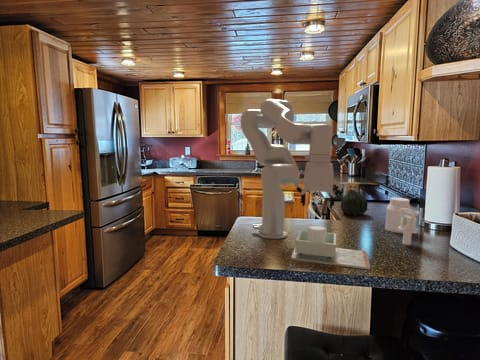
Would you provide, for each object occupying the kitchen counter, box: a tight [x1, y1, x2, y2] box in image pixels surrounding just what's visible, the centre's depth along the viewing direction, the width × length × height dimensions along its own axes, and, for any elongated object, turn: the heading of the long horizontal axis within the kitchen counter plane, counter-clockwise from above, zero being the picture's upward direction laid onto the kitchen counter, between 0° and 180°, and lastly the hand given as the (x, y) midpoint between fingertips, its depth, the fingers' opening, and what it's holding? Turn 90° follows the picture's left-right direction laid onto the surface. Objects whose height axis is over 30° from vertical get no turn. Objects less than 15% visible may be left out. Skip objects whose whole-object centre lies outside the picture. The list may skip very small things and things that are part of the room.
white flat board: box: [290, 247, 371, 271], centre depth 115 cm, size 26×16×1 cm, turn 73°
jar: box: [384, 197, 413, 234], centre depth 150 cm, size 12×10×15 cm
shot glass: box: [307, 224, 327, 243], centre depth 115 cm, size 7×7×7 cm
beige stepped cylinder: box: [398, 208, 420, 246], centre depth 129 cm, size 7×7×15 cm
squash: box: [340, 190, 368, 217], centre depth 181 cm, size 14×15×15 cm
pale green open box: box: [294, 229, 337, 259], centre depth 116 cm, size 14×14×6 cm
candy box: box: [342, 181, 360, 198], centre depth 204 cm, size 9×4×15 cm, turn 103°
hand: (317, 206), depth 114 cm, fingers open, 9 cm apart
